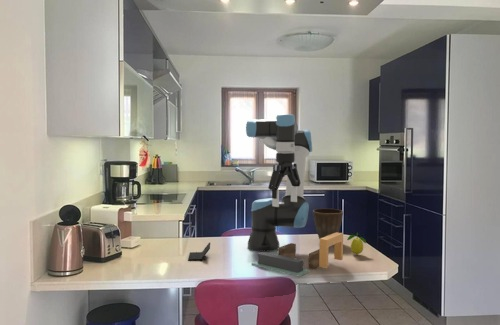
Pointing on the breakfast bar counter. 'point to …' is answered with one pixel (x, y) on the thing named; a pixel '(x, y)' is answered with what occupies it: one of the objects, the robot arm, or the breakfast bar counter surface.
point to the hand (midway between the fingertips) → (285, 204)
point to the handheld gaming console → (198, 254)
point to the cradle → (290, 251)
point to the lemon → (356, 244)
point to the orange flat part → (327, 242)
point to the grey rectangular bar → (280, 262)
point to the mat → (282, 269)
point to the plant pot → (327, 221)
